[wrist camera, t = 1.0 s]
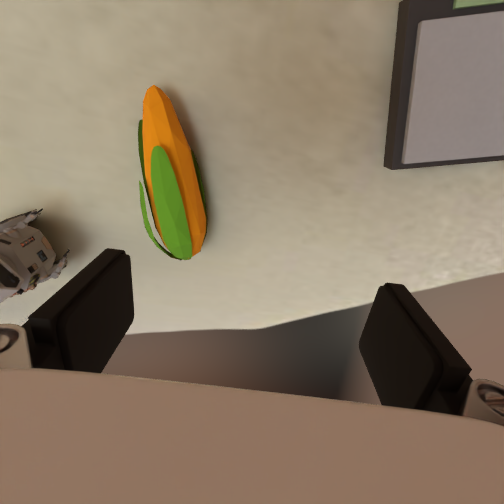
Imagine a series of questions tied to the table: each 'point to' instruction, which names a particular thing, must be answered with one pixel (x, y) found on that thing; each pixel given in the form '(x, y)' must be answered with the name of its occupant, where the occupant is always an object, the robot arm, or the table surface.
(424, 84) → the scale
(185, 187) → the corn
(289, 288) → the table surface
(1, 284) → the figurine
